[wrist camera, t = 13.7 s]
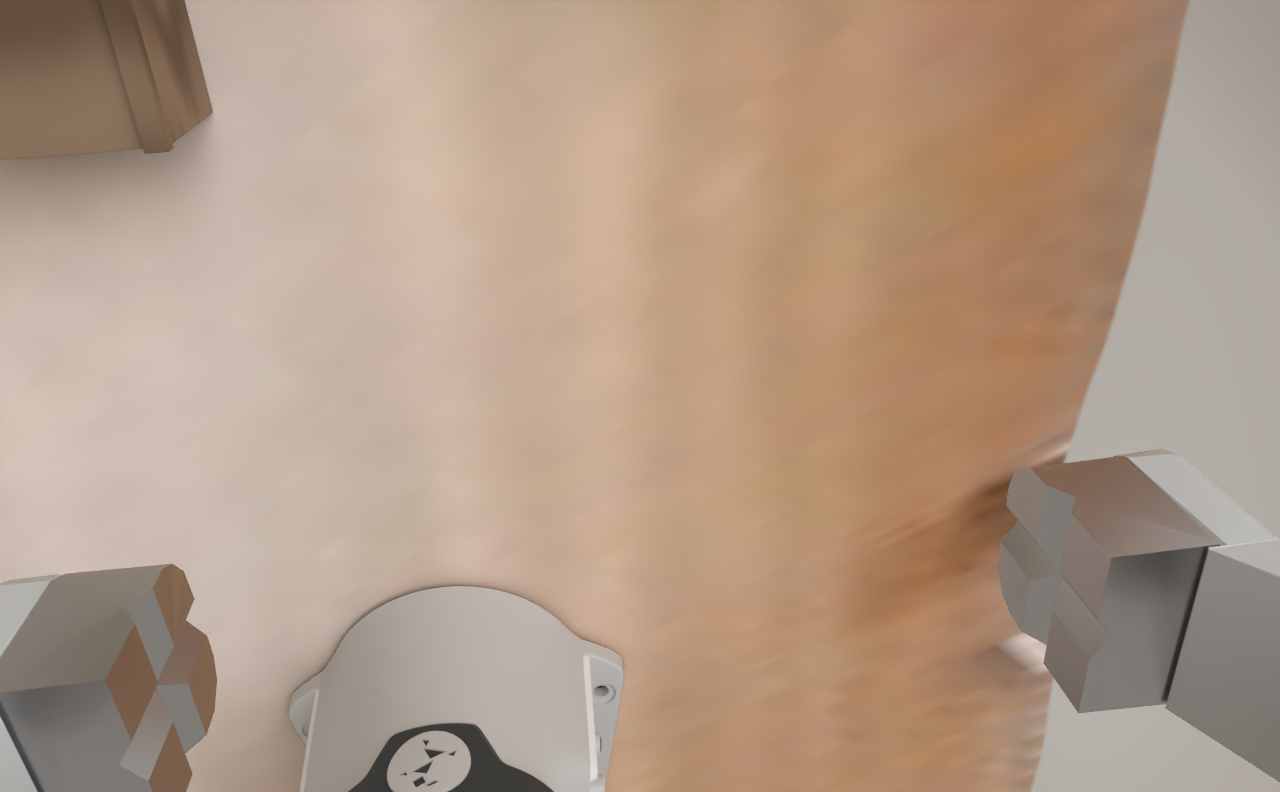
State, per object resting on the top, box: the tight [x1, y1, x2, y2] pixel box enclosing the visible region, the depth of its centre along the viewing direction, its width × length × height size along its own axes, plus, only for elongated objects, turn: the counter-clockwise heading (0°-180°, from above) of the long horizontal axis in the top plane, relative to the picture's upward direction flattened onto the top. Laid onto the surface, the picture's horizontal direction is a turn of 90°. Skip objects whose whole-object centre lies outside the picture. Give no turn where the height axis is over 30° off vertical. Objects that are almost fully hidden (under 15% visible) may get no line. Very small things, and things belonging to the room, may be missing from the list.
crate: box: [0, 0, 213, 160], centre depth 35 cm, size 9×9×6 cm
